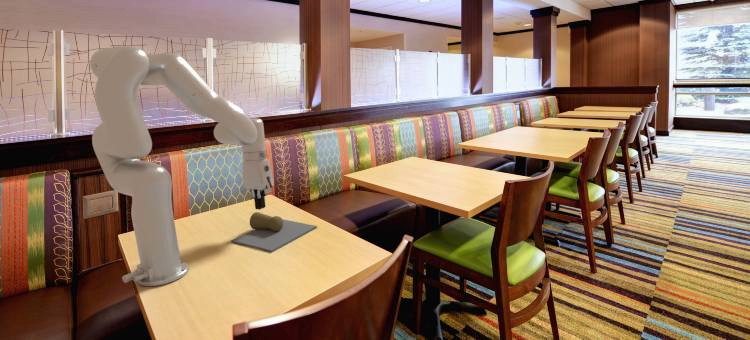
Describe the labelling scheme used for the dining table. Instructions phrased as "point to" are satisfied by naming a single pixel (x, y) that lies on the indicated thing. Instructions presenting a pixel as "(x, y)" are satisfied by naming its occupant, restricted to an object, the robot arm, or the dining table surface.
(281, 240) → the mat
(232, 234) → the dining table surface
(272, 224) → the cork
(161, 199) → the robot arm
